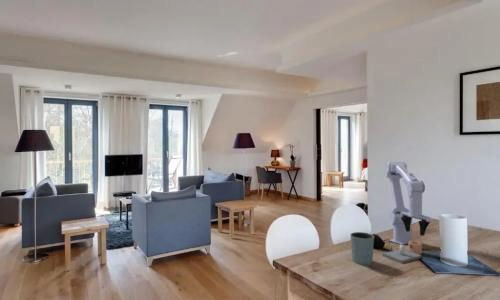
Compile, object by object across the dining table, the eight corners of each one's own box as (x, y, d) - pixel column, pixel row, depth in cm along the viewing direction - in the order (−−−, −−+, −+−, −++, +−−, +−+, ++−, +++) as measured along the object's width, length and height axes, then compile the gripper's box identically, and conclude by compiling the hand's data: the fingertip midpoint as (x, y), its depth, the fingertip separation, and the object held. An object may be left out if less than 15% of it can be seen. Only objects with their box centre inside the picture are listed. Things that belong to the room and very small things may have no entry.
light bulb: (394, 239, 158) (371, 229, 166) (388, 249, 155) (365, 238, 162) (394, 248, 162) (371, 237, 170) (388, 257, 158) (365, 246, 166)
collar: (413, 249, 160) (413, 240, 160) (423, 253, 155) (423, 243, 155) (405, 251, 157) (405, 242, 157) (415, 255, 152) (415, 245, 152)
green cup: (375, 266, 139) (375, 239, 138) (351, 264, 141) (351, 237, 140) (371, 258, 149) (371, 232, 148) (348, 256, 151) (349, 231, 150)
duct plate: (402, 251, 158) (402, 240, 158) (421, 257, 149) (421, 246, 149) (382, 255, 151) (383, 244, 151) (401, 263, 142) (401, 251, 142)
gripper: (396, 203, 160) (396, 230, 160) (424, 209, 147) (423, 238, 147) (406, 202, 163) (405, 228, 163) (433, 207, 150) (433, 236, 150)
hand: (414, 233), depth 156 cm, fingers open, 7 cm apart
